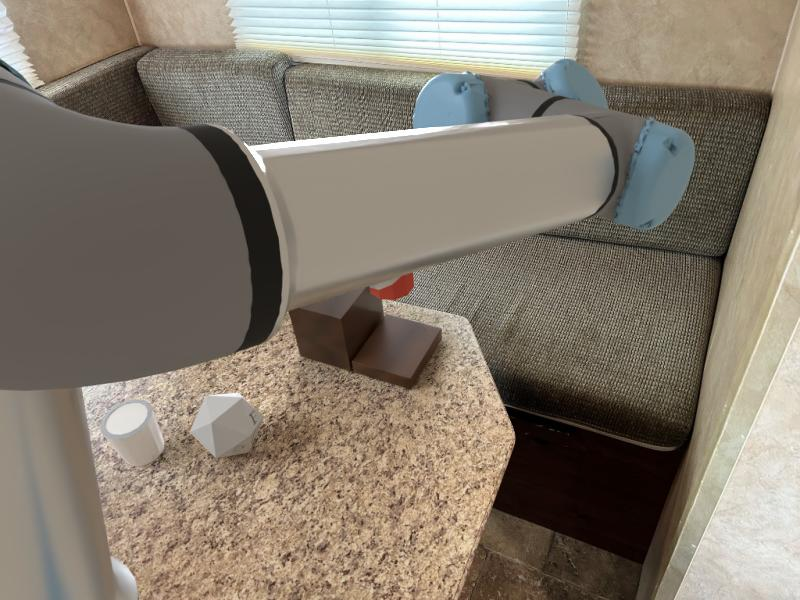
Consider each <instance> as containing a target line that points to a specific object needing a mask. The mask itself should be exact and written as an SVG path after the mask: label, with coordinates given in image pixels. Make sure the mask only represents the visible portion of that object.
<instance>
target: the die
mask: <svg viewBox="0 0 800 600" xmlns="http://www.w3.org/2000/svg"><path fill="white" fill-rule="evenodd" d="M264 418H265V416H264V415H263V414H262V413H261V412H260V411H259V410H258V409H257V408H256V407H255V406H253V405H252V404H251V403H250V402H249V401H248V400H247V399H246V398H245V397H243V395H241V394H240V393H239V392H231V393H219V394H218V393H217V394H206V395H205V396H204V398H203V400H202V403H201V405H200V407H199V410H198V412H197V414H196V416H195V419H194V421H193V423H192V426H191V427H190V428H191V429H190V430H189V434H190V435H191V436H193V437H194V438H195V439H196V441H198V442H199V443H200V444H201V445H202V446H203V447H204V448H205V449H206V450H207V451H208V452H209V453H210V454H211V455H212V456H213V457H214V458H215V459H220V458H225V457H232V456H237V455H244V454H247V453H248V454H249V453H250V452H251V449H252V447H253V443H254V442H255V440H256V437H257V435H258V433H259V430H260V428H261V425H262V423H263V420H264Z"/></svg>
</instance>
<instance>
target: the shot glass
mask: <svg viewBox="0 0 800 600" xmlns="http://www.w3.org/2000/svg"><path fill="white" fill-rule="evenodd" d="M99 429H100V431H101V433H102V435H103V437H104V438H105V439H106V440H107V442H108V443H109V444H110V445H111V446H112V447H113V449H114V450H115V451H116V452H117V454H118V455H119V456H120V458H121V459H122V460H123V461H124V462H125V463H126V464H127V465H129V466H131V467H143V466H146V465H149V464H150V463H152V462H154V461H155V460H157V459H158V458H159V457H160V456H161V454H162V453H163V451H164V449H165V440H164V437H163V434H162V431H161V428H160V426H159V422H158V420H157V417H156V414H155V412H154V409H153V407H152V405H151V404H150V402H148V401H146V400H144V399H136V398H133V399H129V400H126V401H125V400H124V401H122V402H120V403H118V404H117V405H114V406H113V407H112V408H111V409H109V410H108V411H107V412H106V413H105V415H104V416H103V418H102V420H101V421H100V427H99Z"/></svg>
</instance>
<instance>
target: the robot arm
mask: <svg viewBox="0 0 800 600" xmlns="http://www.w3.org/2000/svg"><path fill="white" fill-rule="evenodd" d="M413 110H414V113H413V116H412V129H405V130H395V131H384V132H375V133H363V134H355V135H354V134H353V135H344V136H336V137H325V138H313V139H303V140H295V141H294V140H293V141H283V142H275V143H274V142H273V143H264V144H256V145H247V144H246V143H245V142H244V141H243V139H241V138H240V137H239V135H237V134H235V132H233V131H232V130H230V129H228V127H225V126H222V125H220V124H216V123H215V124H214V123H203V124H189V125H175V126H173V125H172V126H153V125H152V126H151V125H140V124H139V125H138V124H130V123H126V122H125V123H124V122H118V121H113V120H108V119H105V118H101V117H96V116H91V115H87V114H83V113H80V112H78V111H75V110H71V109H68V108H65V107H62V106H60V104H58V103H56V102H55V101H53V100H52V99H50V98H49V97H48V96H46V95H45V94H42V92H40V91H38V90H37V89H35V88H34V86H33V85H32V83H30V81H28V80H27V78H25V76H24V75H22V73H21V72H19V71H18V70H17V69H15V68H14V67H12V66H11V65H10V64H9V63H7V62H6V61H5V60H3V59H2V58H0V600H140V593H139V588H138V584H137V581H136V578H135V576H134V575H133V573H132V571H131V570H130V569H129V567H127V565H126V564H125V563H123V562H122V561H121V560H119V559H117V558H116V557H115V556H112V555H111V551H110V545H109V539H108V533H107V528H106V522H105V517H104V516H105V515H104V510H103V503H102V498H101V493H100V487H99V481H98V475H97V469H96V463H95V456H94V452H93V446H92V439H91V434H90V429H89V423H88V422H89V421H88V417H87V410H86V405H85V399H84V393H83V388H85V387H94V386H101V385H107V384H116V383H121V382H130V381H134V380H138V379H143V378H148V377H152V376H156V375H157V376H158V375H161V374H166V373H170V372H176V371H179V370H182V369H186V368H189V367H193V366H197V365H200V364H204V363H207V362H211V361H215V360H217V359H221V358H225V357H228V356H231V355H233V354H236V353H239V352H242V351H244V350H248V349H250V348H254V347H257V346H260V345H262V344H264V343H266V342H269V341H270V340H272V338H273V337H274V336H275V335H276V334H277V332H278V331H279V330H280V328H281V326H282V323H283V321H284V319H285V316H286V315H287V312H289V311H290V310H293V309H296V308H299V307H303V306H306V305H309V304H312V303H316V302H319V301H322V300H325V299H329V298H332V297H335V296H338V295H342V294H345V293H348V292H351V291H354V290H358V289H361V288H364V287H367V286H371V285H374V284H377V283H380V282H384V281H387V280H390V279H393V278H397V277H400V276H403V275H406V274H410V273H413V274H414V273H416V272H419V271H422V270H427V269H429V268H432V267H435V266H439V265H442V264H445V263H448V262H452V261H454V260H455V261H456V260H458V259H462V258H464V257H467V256H470V255H475V254H477V253H481V252H484V251H486V250H491V249H494V248H497V247H499V246H503V245H506V244H510V243H513V242H516V241H519V240H523V239H526V238H529V237H533V236H535V235H539V234H542V233H545V232H549V231H552V230H556V229H558V228H561V227H565V226H569V225H571V224H574V223H578V222H582V221H585V220H589V219H592V218H595V217H602V218H605V219H608V220H609V221H611V222H613V224H616V225H617V226H619V225H622V226H626V227H629V228H632V229H636V230H638V231H648V230H652V229H655V228H657V227H659V226H660V225H661V224H663V223H664V222H665V221H666V220H667V219H668V218H669V217H670V215H671V214H672V213H673V212H674V210H675V209H676V208H677V206H678V205H679V203H680V201H681V199H682V198H683V196H684V194H685V192H686V190H687V187H688V185H689V182H690V178H691V176H692V173H693V169H694V166H695V161H696V160H695V159H696V149H695V143H694V141H693V138H692V137H691V136H690V134H689V133H687V131H685V130H683V129H682V128H678V127H676V126H672V125H669V124H666V123H663V122H661V121H658V120H656V119H655V118H654V117H651V116H648V117H647V118H646V117H642V116H639V115H634V114H631V113H627V112H623V111H619V110H617V109H616V110H615V109H611V108H609V105H608V100H607V97H606V94H605V93H604V90H603V88H602V87H601V85H600V83H599V81H598V80H597V79H596V77H595V76H594V75H593V74H592V73H591V71H589V70H588V69H587V68H586V67H585V66H584V65H583V64H581V63H579V62H578V61H576V60H574V59H571V58H561V59H558V60H556V61H555V62H554V63H552V64H551V65H550V66H548V67H547V68H546V69H542V70H541V71H540V72H539V75H538V76H537V77H536V78H534V79H532V80H530V79H511V78H503V77H498V76H490V75H484V74H476V73H473V72H471V71H464V72H443V73H440V74H437V75H436V76H434V77H432V78H431V79H429V81H427V83H426V84H425V85H424V86H423V88H421V90H420V91H419V94H418V96H417V98H416V102H415V106H414V109H413Z"/></svg>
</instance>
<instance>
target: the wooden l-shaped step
mask: <svg viewBox="0 0 800 600" xmlns="http://www.w3.org/2000/svg"><path fill="white" fill-rule="evenodd" d="M288 315H289V318H290V321H291V325H292V330H293V334H294V338H295V342H296V345H297V349H298V353H299V356H300V357H301V358H305V359H309V360H312V361H314V362H319V363H322V364H325V365H328V366H331V367H334V368H338V369H341V370H345V371H347V372H352V371H353V373H354V374H358V375H361V376H363V377H368V378H371V379H374V380H378V381H380V382H384V383H386V384H390V385H394V386H397V387H401V388H404V389H407V390H409V391H412V390H413V389H414V386H415V385H416V383H417V381H418V380H419V378H421V375H422V373H423V372H424V370H425V368H426V367H427V365H428V364H429V362H430V360H431V358H432V357H433V355H434V354H435V352H436V350H437V348H438V347H439V345H440V344H441V342H442V341H443V328H442V327H440V326H436V325H433V324H429V323H424V322H421V321H417V320H413V319H409V318H405V317H402V316H398V315H394V314H391V313H390V314H389V313H386V314H385V311H384V305H383V299H379V298H377V297H376V296H374V295H373V294H371V293H370V286H367V287H364V288H361V289H358V290H354V291H351V292H348V293H345V294H342V295H338V296H335V297H332V298H329V299H325V300H322V301H319V302H316V303H312V304H309V305H306V306H303V307H299V308H296V309H293V310H290V311H288Z"/></svg>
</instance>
